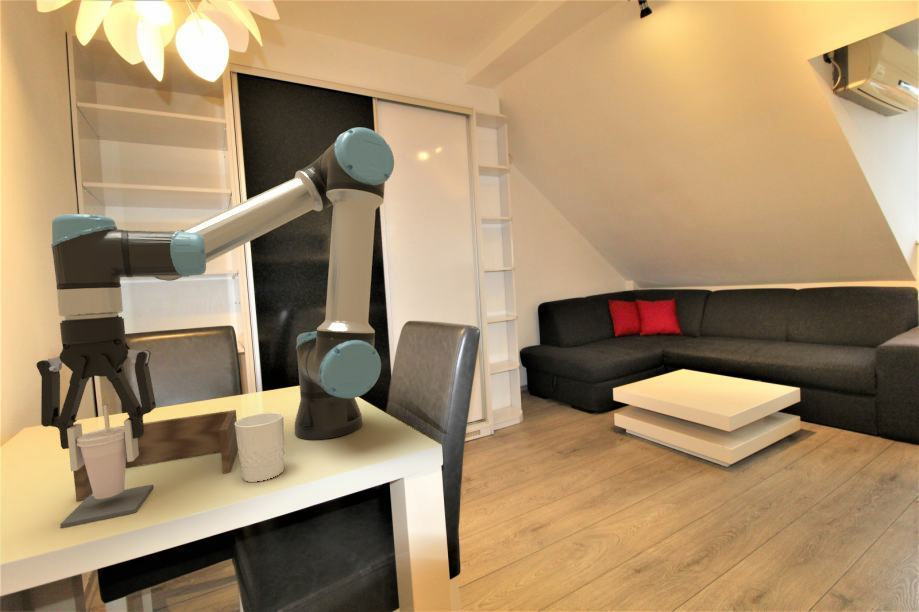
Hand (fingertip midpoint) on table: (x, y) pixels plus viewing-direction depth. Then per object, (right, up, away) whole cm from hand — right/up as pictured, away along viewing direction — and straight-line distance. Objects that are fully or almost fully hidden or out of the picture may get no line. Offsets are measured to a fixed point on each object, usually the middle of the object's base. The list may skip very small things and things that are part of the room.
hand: (106, 462), depth 67 cm
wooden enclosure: (+1, -6, +13) cm, 15 cm away
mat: (0, -7, 0) cm, 7 cm away
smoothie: (0, -5, 0) cm, 5 cm away
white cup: (+20, -6, +9) cm, 23 cm away
